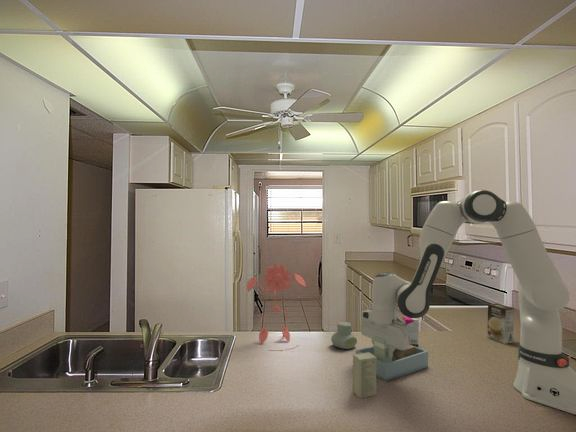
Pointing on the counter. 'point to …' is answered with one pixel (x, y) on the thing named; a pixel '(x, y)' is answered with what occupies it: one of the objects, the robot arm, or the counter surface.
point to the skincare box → (364, 374)
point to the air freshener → (344, 336)
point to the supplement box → (412, 329)
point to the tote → (398, 364)
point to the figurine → (275, 281)
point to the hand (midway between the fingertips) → (383, 354)
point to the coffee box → (500, 323)
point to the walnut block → (403, 353)
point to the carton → (381, 350)
